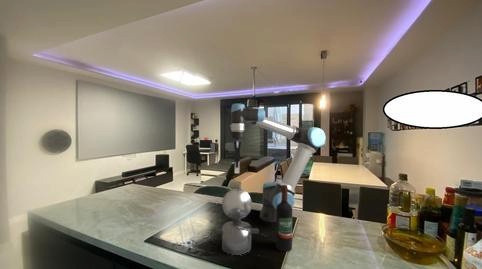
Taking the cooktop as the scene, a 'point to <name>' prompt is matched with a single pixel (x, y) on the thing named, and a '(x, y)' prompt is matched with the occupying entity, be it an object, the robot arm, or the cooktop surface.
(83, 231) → the cooktop surface
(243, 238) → the pot
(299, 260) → the cooktop surface
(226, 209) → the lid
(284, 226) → the wine bottle
